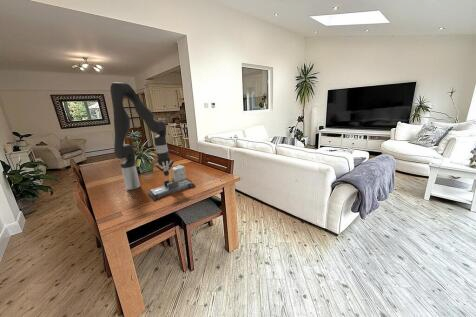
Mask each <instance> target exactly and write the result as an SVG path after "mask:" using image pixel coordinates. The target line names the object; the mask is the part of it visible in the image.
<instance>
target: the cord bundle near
mask: <svg viewBox="0 0 476 317" xmlns="http://www.w3.org/2000/svg"><path fill="white" fill-rule="evenodd" d="M147 194H148V195H149V196H150V197H151V198H152V200H153V201H157V200H160V198H161V197H159V196H156V197H155V196H154V195H153V194H152V193H151V191H150V190H148V191H147Z"/></svg>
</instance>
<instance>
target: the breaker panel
mask: <svg viewBox="0 0 476 317" xmlns="http://www.w3.org/2000/svg"><path fill="white" fill-rule="evenodd" d="M189 181H190V180H189ZM189 181H188V179H187V178H186V179H183V180H181V181H174V178H173V182H170V183H169V178H167V179H164V180H163V185H162V186H158V187H155V188H152V189H150V190H149V191H150V192H151V193H152V194H153V195H154V196H155V197H156V196H159V197H160V198H161V197H165V196H168V195H171V194H174V193H177V192H181V191H183V190H185V189H188V188H190V187H189V185H192V184H191V182H192V181H190V182H189Z"/></svg>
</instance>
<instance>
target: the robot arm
mask: <svg viewBox="0 0 476 317" xmlns="http://www.w3.org/2000/svg"><path fill="white" fill-rule="evenodd" d="M109 91H110V97H111V101H112V102H111V103H112V108H113V109H112V112H113V126H114V128H113V129H114V145H113V146H114V148H113V151H114V155H115V158H117V159H118V160H122V159H124V160H123V161H122V162H121V163H120V168H121V172H122V176H123V179H124V184H125V189H126V190H127V191H131V190H136V189H139V188H140V187H141V184H140V179H139V175H138V170H137V167H136V166H137V165H136V157H135V150H134V148H133V146H132V144H129V143H126V144H124V142H125V139H126V137H127V135H128V133H129V132H130V129H131V119H130V116H129V114H128V113H127V111H126V110H125V106H124V99H128V100H129V101H131V103H132V104H133V106H134V110H135V112H136V114H137V115H138V116H139V117H140V118H141V120H143V122H144V123H145V125H146V126H147V128H148V130H149V131H150V132H152V133H153V134H154V133H155V134H156V136H154V137H153V138H154V139H153V140H154V147H155V154H156V158H157V160H156V162H157V163H156V164H154V167H156V169H158V170H160V171H161V172H163V175H164V176H165V177H169V169H171V167H172V168H173V164H174V163H175V161H174V160H171V158H170V155H169V154H170V153H169V148H168V143H167V138H166V136H167V135H166V134H167V126H166V124H165V122H164V121H162V120H155V119H154V118H155V115H154V113H153V112H152V111H151V110H150V109H149V108H148V107H147V106H146V105H145V104H144V102H142V100H141V98H140V97H139V95H138V94H137V93H136V92H135V90H134V89H133V87H132V86H131V85H130V83H127V82H118V81H117V82H112V83H111V85H110V90H109Z"/></svg>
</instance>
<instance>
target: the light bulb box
mask: <svg viewBox="0 0 476 317" xmlns="http://www.w3.org/2000/svg"><path fill="white" fill-rule="evenodd" d="M172 168H173V178H174V181H181V180H184V179H186V180H187V175H186V169H185V166H184V165H181V164H179V165H176V166H174V167H173V166H172Z"/></svg>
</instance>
